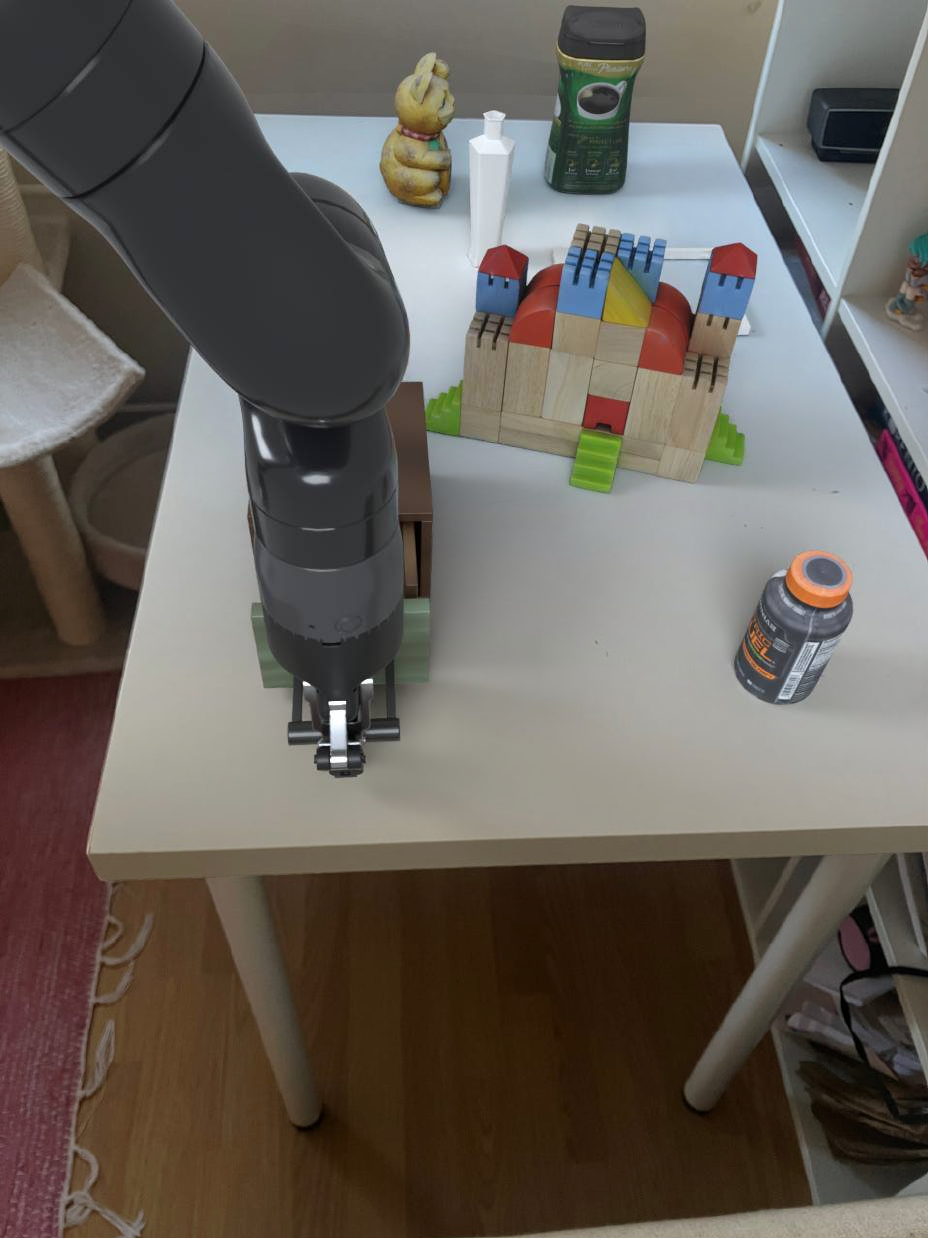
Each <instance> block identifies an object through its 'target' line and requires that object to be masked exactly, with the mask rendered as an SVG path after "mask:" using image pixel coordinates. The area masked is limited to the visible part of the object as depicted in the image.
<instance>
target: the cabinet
mask: <svg viewBox="0 0 928 1238" xmlns="http://www.w3.org/2000/svg"><path fill="white" fill-rule="evenodd" d="M424 393H425V392H424V383H423V381H402V382H401V384H400V386H399V388H398V389H397V391H396V393H395V394H394V395H393V397H392V398H391V399H390V400H389V402H388V403H387V404H386V405H385V408H386V412H387V415H388V418H389V422H390V425H391V429H392V432H393V436H394V441H395V446H396V453H397V464H398V518H399V522H401V521H414V532H415V548H416V565H417V581H418V598H429V599H430V600H431V596H432V595H431V594H432V565H433V564H432V563H433V560H432V559H433V531H434V529H433V528H434V507H433V506H434V505H433V495H432V493H433V492H432V483H431V470H430V459H429V458H430V457H429V446H428V432H427V431H428V430H426V418H425V410H426V407H425V395H424ZM246 512H247V513H246V519H247V524H248V525H247V526H248V531H249V537H250V543H251V548H252V555H253V556H254V526H253V520H252V514H251V508H250V502H249V500H248V501H247V511H246Z"/></svg>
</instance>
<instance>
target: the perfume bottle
mask: <svg viewBox="0 0 928 1238" xmlns="http://www.w3.org/2000/svg"><path fill="white" fill-rule="evenodd" d="M482 114H483V117H484V120H483V121H484V122H483V133H481V134H480V135H478V136H475V137H473V138H471V139H469V140H468V153H469V155H468V156H469V201H470V203H469V204H470V205H469V206H470V245H469V248H468V251H467V254H466V257H467V258H468V260H469V261H470V263H471V264H472V266H473V267H475V268H479V266H480V264H481V262H482V260H483V258H484V256H485V254H486V252H487V250H488V249H490V248H494V247H497V246H501V245H502V244H501V243H502V237H503V236H502V235H503V230H504V222H505V218H506V217H505V216H506V209H507V203H508V196H509V190H510V183H511V175H512V170H513V169H512V168H513V162H514V155H515V149H516V140H514V139H512V138H510V137H508V136H507V135H504V127H505V125H504V122H505V118H506V116H507V114H506V113H504V112H501V111H499V110H495V109H494V110H489V111H487V112H484V113H482Z"/></svg>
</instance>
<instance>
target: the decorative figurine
mask: <svg viewBox="0 0 928 1238" xmlns="http://www.w3.org/2000/svg"><path fill="white" fill-rule="evenodd" d="M437 54H438V52H433V51H432V52H429V53H427V54H425V55H424V56H422V57H421V58H420V59H419V61H418V62H417V64H416V67H415V69H414V73H413V74H410V75H409V76H407V77H405V79H403V80H402V81H401V82H400V84H399V85H398V86H397V88H396V89H397V90H396V92H395V95H394V99H393V100H394V101H393V103H394V110H395V114H396V116H397V119H398V122H397V124H396V126H395V127H394V128H393V129H392V131H391V132H390V133H389V134H388V135H387V137H386V138H385V141H384V143H383V144H382V145H383V146H382V149H381V152H380V153H381V154H380V155H381V156H380V161H379V164H378V165H379V171H380V175H381V176H382V179H383V182H384V183H385V186H386V188H387V189H388V191H389V193H390V194H391V195H393V197H395V198H397V199H398V203H399V204H406V205H413V206H420V207H421V208H430V209H440V208H441V204H442V203H444V196H445V197H447V196H448V195H449V191H450V188H451V182H452V166H453V161H452V158H453V157H452V154H451V148H449V146H448V142H447V138H446V136H445V133H444V130H445V129H447V127H448V125H449V124H450V123H452V121H453V119H454V117H455V112H456V99H455V97H454V95H452V93H451V90H450V83H449V82H448V81H447V79H448V77H449V76H450V74H451V69H450V67H449V64H448V62H447V61H445V60H443V59H440V58H438V59H437Z"/></svg>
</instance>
